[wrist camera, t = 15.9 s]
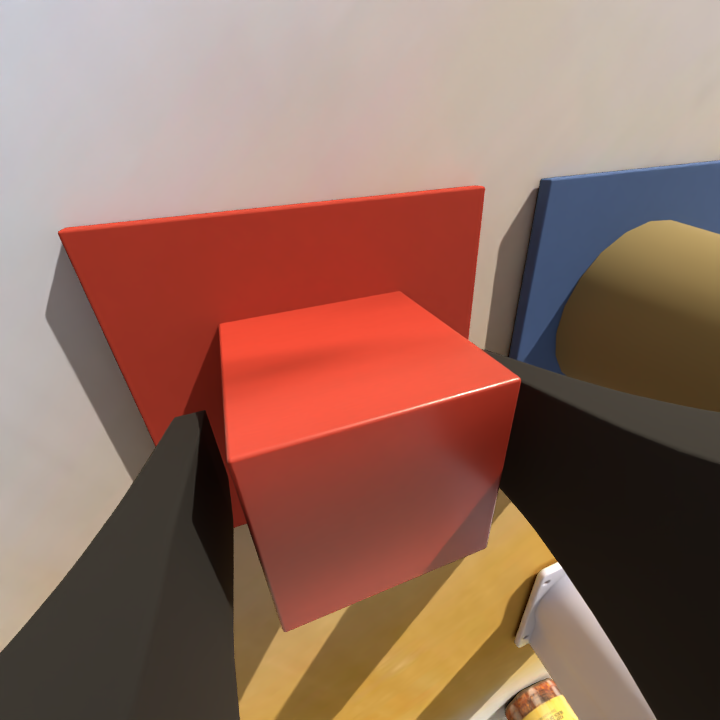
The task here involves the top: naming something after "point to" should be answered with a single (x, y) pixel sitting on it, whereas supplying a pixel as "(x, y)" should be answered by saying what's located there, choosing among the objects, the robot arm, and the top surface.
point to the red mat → (262, 282)
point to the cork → (649, 317)
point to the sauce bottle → (540, 703)
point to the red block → (361, 446)
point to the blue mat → (598, 236)
